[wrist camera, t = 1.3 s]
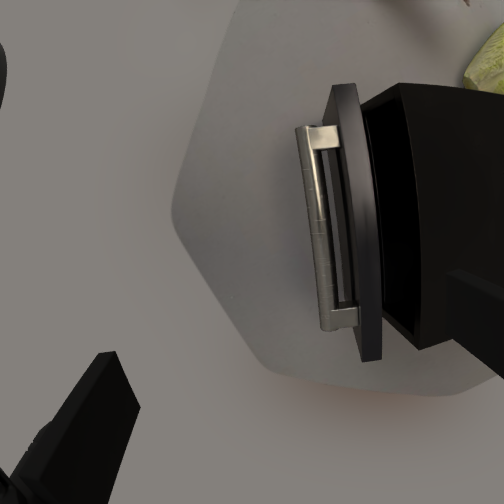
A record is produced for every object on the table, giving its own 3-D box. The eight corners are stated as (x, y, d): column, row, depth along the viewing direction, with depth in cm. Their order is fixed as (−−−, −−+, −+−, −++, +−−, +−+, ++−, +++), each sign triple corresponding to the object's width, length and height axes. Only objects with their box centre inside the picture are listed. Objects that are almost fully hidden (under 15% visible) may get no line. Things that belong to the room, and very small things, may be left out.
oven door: (318, 301, 36) (323, 367, 23) (294, 123, 32) (287, 90, 19) (357, 297, 36) (381, 359, 22) (336, 118, 32) (355, 82, 18)
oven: (359, 295, 36) (418, 350, 22) (338, 118, 32) (398, 82, 18) (463, 270, 36) (536, 302, 22) (451, 117, 32) (528, 99, 18)
